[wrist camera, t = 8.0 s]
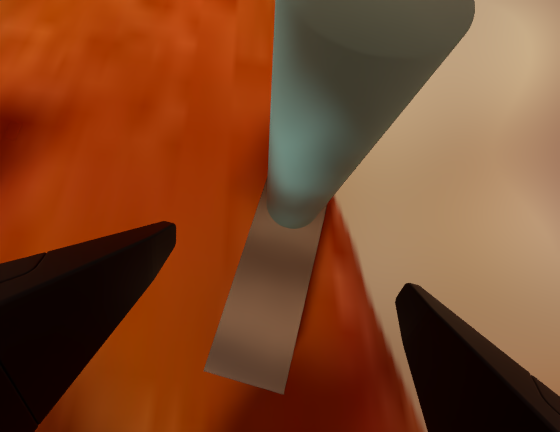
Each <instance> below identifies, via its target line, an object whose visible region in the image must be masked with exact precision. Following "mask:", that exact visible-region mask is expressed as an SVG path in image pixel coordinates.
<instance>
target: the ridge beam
mask: <svg viewBox="0 0 560 432" xmlns="http://www.w3.org/2000/svg"><path fill="white" fill-rule="evenodd" d="M267 180H268V177H267ZM267 180H266V183H265V186H264V189H263V192H262V195H261V198H260V201H259V204H258V207H257V210H256V213H255V216H254V219H253V222H252V225H251V228H250V231H249V234H248V237H247V241H246V244H245V247H244V250H243V253H242V256H241V259H240V262H239V265H238V268H237V271H236V274H235V277H234V280H233V283H232V286H231V289H230V292H229V295H228V298H227V301H226V304H225V307H224V310H223V313H222V317H221V320H220V323H219V326H218V329H217V332H216V335H215V338H214V341H213V344H212V347H211V350H210V353H209V356H208V359H207V362H206V365H205V368H204V371H206V372H209V373H212V374H216V375H219V376H223V377H226V378H229V379H233V380H236V381H239V382H243V383H246V384H249V385H253V386H256V387H260V388H263V389H266V390H270V391H273V392H276V393H280V394H283V395H284V390H285V386H286V382H287V377H288V373H289V369H290V364H291V360H292V355H293V351H294V347H295V342H296V338H297V334H298V329H299V325H300V321H301V316H302V312H303V308H304V303H305V299H306V294H307V290H308V286H309V281H310V277H311V273H312V268H313V264H314V260H315V255H316V251H317V246H318V242H319V238H320V233H321V229H322V225H323V220H324V216H325V212H326V207H327V204H326V205H325V207H324V208H323V209H322V210H321V211H320V213H319V214H318V215H317V216H316V218H315V219H314V220H313V221H312V222H311V223H310V224H308V225H307V226H305V227H302V228H297V229H290V228H286V227H283V226H281V225H279V224H278V223H276V222H275V221H274V220H273V219H272V218H271V216H270V214H269V212H268V209H267Z"/></svg>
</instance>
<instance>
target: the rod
mask: <svg viewBox="0 0 560 432" xmlns="http://www.w3.org/2000/svg"><path fill="white" fill-rule="evenodd" d="M474 13H475V2H474V0H276V1H275V24H274V46H273V68H272V91H271V113H270V135H269V158H268V180H267V209H268V212H269V214H270V216H271V218H272V219H273V220H274V221H275V222H276V223H278V224H279V225H281V226H283V227H286V228H290V229H297V228H302V227H305V226H307V225H308V224H310V223H311V222H312V221H313V220H314V219H315V218H316V216H317V215H318V214H319V213H320V211H321V210H322V209H323V208H324V207H325V205H326V204H327V203H328V202H329V200H330V199H331V198H332V197H333V196H334V194H335V193H336V192H337V191H338V189H339V188H340V187H341V186H342V185H343V183H344V182H345V181H346V180H347V178H348V177H349V176H350V175H351V174H352V172H353V171H354V170H355V169H356V167H357V166H358V165H359V164H360V163H361V161H362V160H363V159H364V158H365V156H366V155H367V154H368V153H369V152H370V150H371V149H372V148H373V147H374V145H375V144H376V143H377V141H379V139H380V138H381V137H382V135H383V134H384V133H385V131H387V130H388V128H389V127H390V126H391V124H392V123H393V122H394V121H395V120H396V118H397V117H398V116H399V115H400V113H401V112H402V111H403V110H404V109H405V107H406V106H407V105H408V104H409V103H410V101H411V100H412V99H413V98H414V96H415V95H416V94H417V93H418V92H419V90H420V89H421V88H422V87H423V85H424V84H425V83H426V82H427V81H428V79H429V78H430V77H431V76H432V74H433V73H434V72H435V71H436V69H437V68H438V67H439V66H440V65H441V63H442V62H443V61H444V60H445V59H446V57H447V56H448V55H449V54H450V52H451V51H452V50H453V49H454V47H455V46H456V45H457V44H458V43H459V41H460V40H461V39H462V37H464V35H465V34H466V32H467V31H468V30H469V28H470V26H471V24H472V21H473V17H474Z"/></svg>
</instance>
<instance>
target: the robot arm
mask: <svg viewBox="0 0 560 432" xmlns="http://www.w3.org/2000/svg"><path fill="white" fill-rule="evenodd" d="M175 244H176V225H175V224H174V223H170V222H166V221H162V222H158V223H155V224H151V225H147V226H143V227H139V228H136V229H132V230H128V231H124V232H120V233H117V234H113V235H109V236H105V237H101V238H98V239H94V240H90V241H86V242H82V243H79V244H75V245H71V246H67V247H63V248H60V249H56V250H52V251H48V252H47V253H40V254H37V255H33V256H29V257H25V258H21V259H17V260H13V261H9V262H5V263H1V264H0V432H34V431H35V430H36V429H37V427H38V424H40V423H41V422H42V421H43V419H44V418H45V417H46V416H47V414H48V413H49V412H50V411H51V409H52V408H53V407H54V405H55V404H56V403H57V402H58V400H59V399H60V398H61V397H62V395H63V394H64V393H65V392H66V390H67V389H68V388H69V387H70V385H71V384H72V383H73V381H74V380H75V379H76V378H77V376H78V375H79V374H80V373H81V371H82V370H83V369H84V368H85V366H86V365H87V364H88V363H89V361H90V360H91V359H92V357H93V356H94V355H95V354H96V352H97V351H98V350H99V349H100V347H101V346H102V345H103V344H104V342H105V341H106V340H107V339H108V337H109V336H110V335H111V333H112V332H113V331H114V330H115V328H116V327H117V326H118V325H119V323H120V322H121V321H122V320H123V318H124V317H125V316H126V314H127V313H128V312H129V311H130V309H131V308H132V307H133V306H134V304H135V303H136V302H137V301H138V299H139V298H140V297H141V296H142V294H143V293H144V292H145V290H146V289H147V288H148V287H149V285H150V284H151V283H152V281H153V280H154V279H155V277H156V276H157V274H158V272H159V271H160V269H161V268H162V266H163V264H164V263H165V261H166V260H167V258H168V256H169V255H170V253H171V252H172V250H173V248H174V247H175ZM395 304H396V310H397V315H398V321H399V326H400V331H401V337H402V341H403V346H404V350H405V353H406V357H407V360H408V364H409V367H410V371H411V374H412V377H413V381H414V385H415V388H416V392H417V395H418V399H419V402H420V406H421V409H422V413H423V416H424V420H425V423H426V427H427V430H428V432H560V396H558V395H557V394H556V393H554V392H553V391H552V390H551V389H549V388H548V387H547V386H546V385H544V384H543V383H542V382H540V381H539V380H537V378H535V377H534V376H532V375H530V373H529V372H528V371H527V370H525V369H524V368H523V367H521V366H520V365H519V364H518V363H516V362H515V361H514V360H513V359H511V358H510V357H509V356H508V355H506V354H505V353H504V352H502V351H501V350H500V349H499V348H497V347H496V346H495V345H494V344H492V343H491V342H490V341H489V340H487V339H486V338H485V337H484V336H482V335H481V334H480V333H479V332H477V331H476V330H475V329H473V328H472V327H471V326H470V325H468V324H467V323H466V322H465V321H463V320H462V319H461V318H460V317H458V316H456V314H454V313H453V312H452V311H451V310H449V309H448V308H447V307H446V306H444V305H443V304H442V303H441V302H439V301H438V300H437V299H436V298H434V297H433V296H432V295H430V294H429V293H428V292H427V291H425V290H424V289H423V288H422V287H420V286H419V285H415V284H411V283H406V284H405V285H404V287H403V288H402V290H401V291H400V293H399V294H398V296H397V297H396V301H395Z"/></svg>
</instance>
